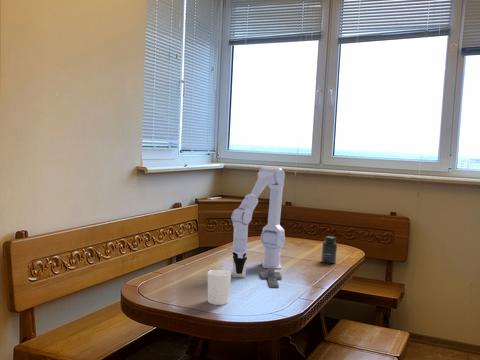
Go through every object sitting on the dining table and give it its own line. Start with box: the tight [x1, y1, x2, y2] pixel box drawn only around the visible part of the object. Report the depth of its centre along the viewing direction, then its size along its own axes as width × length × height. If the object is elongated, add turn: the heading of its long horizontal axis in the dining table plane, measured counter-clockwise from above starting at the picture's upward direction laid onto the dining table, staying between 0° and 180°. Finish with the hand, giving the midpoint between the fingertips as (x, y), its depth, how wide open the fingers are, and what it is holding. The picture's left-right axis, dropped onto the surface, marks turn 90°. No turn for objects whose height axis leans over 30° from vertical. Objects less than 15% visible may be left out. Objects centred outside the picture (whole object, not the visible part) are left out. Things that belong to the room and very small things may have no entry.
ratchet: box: [259, 266, 283, 288], centre depth 195 cm, size 19×8×4 cm, turn 2°
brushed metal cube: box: [231, 258, 247, 279], centre depth 200 cm, size 5×5×6 cm
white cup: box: [207, 269, 232, 306], centre depth 166 cm, size 8×8×10 cm
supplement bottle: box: [320, 235, 338, 264], centre depth 230 cm, size 7×7×12 cm
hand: (238, 271), depth 200 cm, fingers open, 5 cm apart
